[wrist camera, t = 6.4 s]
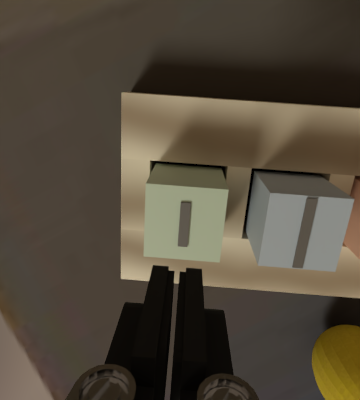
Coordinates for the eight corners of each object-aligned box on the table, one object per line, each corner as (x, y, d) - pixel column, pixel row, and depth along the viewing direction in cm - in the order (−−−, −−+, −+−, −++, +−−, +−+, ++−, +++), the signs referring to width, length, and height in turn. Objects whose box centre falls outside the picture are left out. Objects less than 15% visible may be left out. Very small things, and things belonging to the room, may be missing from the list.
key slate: (254, 170, 19) (270, 193, 15) (320, 175, 19) (355, 200, 15) (245, 230, 21) (258, 266, 16) (306, 234, 21) (336, 272, 16)
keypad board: (130, 91, 20) (121, 92, 17) (454, 114, 19) (490, 118, 17) (128, 260, 24) (120, 278, 21) (396, 281, 23) (419, 303, 21)
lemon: (369, 297, 24) (449, 393, 16) (369, 354, 26) (442, 464, 18) (295, 307, 25) (340, 404, 17) (300, 362, 26) (343, 471, 19)
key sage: (156, 163, 19) (145, 184, 15) (221, 168, 19) (228, 190, 15) (153, 223, 21) (143, 257, 16) (214, 227, 21) (219, 263, 16)
